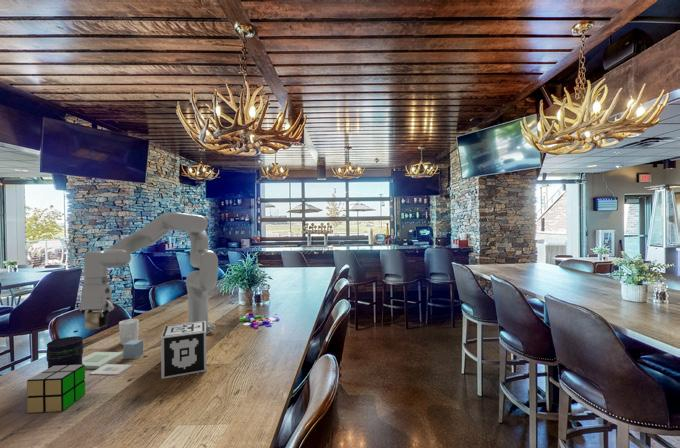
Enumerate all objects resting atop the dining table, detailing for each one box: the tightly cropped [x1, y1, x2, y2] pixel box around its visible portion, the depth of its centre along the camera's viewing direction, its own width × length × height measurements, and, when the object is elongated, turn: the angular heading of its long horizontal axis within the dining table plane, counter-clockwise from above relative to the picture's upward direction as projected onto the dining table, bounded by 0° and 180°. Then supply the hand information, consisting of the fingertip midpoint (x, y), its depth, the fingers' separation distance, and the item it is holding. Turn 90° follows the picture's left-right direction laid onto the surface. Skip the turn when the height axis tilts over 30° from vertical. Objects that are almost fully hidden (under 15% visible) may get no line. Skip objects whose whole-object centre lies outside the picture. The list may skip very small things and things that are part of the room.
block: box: [160, 321, 207, 380], centre depth 126 cm, size 15×15×15 cm
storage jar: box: [46, 330, 84, 369], centre depth 113 cm, size 10×10×18 cm
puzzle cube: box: [26, 365, 86, 414], centre depth 100 cm, size 10×10×10 cm
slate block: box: [122, 339, 144, 360], centre depth 136 cm, size 5×5×6 cm
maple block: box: [84, 310, 107, 330], centre depth 131 cm, size 5×5×6 cm
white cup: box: [118, 318, 140, 346], centre depth 152 cm, size 8×8×10 cm
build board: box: [82, 351, 123, 370], centre depth 131 cm, size 13×13×1 cm
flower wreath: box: [239, 312, 280, 330], centre depth 184 cm, size 25×20×4 cm
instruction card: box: [89, 363, 133, 376], centre depth 123 cm, size 11×8×1 cm
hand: (96, 325), depth 131 cm, fingers closed on maple block, 5 cm apart
